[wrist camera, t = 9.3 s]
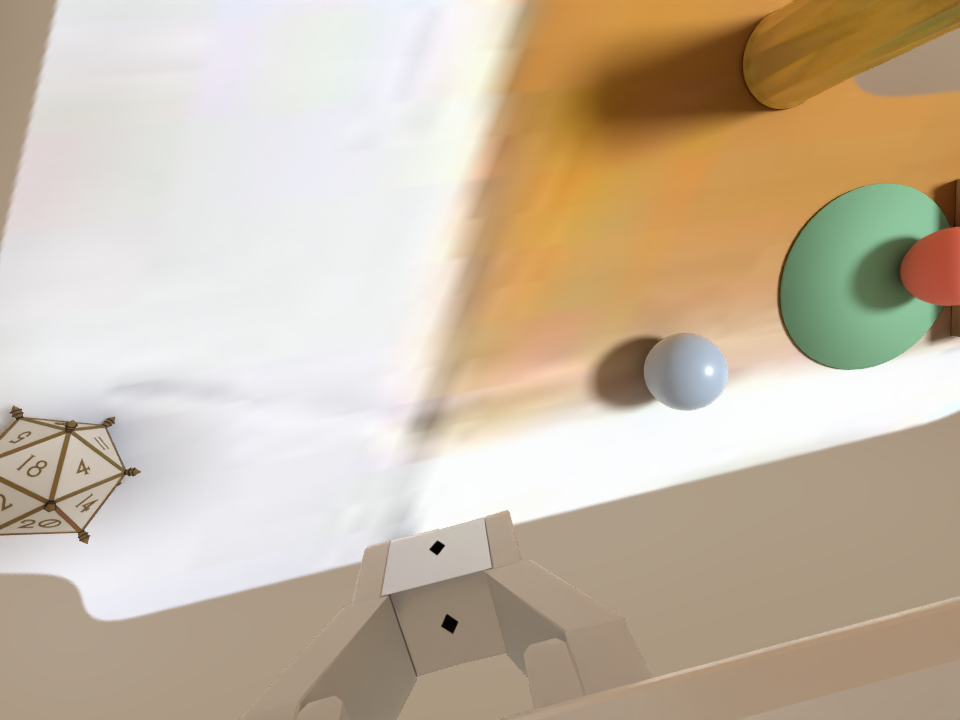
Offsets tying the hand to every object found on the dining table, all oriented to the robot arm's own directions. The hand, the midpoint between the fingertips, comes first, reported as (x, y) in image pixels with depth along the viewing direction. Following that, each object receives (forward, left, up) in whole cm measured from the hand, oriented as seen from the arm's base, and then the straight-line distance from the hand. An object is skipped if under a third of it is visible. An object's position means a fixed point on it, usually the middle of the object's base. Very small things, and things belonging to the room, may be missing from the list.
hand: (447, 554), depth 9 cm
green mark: (-9, +32, -25) cm, 41 cm away
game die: (+12, -24, -25) cm, 37 cm away
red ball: (-11, +35, -22) cm, 43 cm away
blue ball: (-1, +17, -22) cm, 28 cm away
